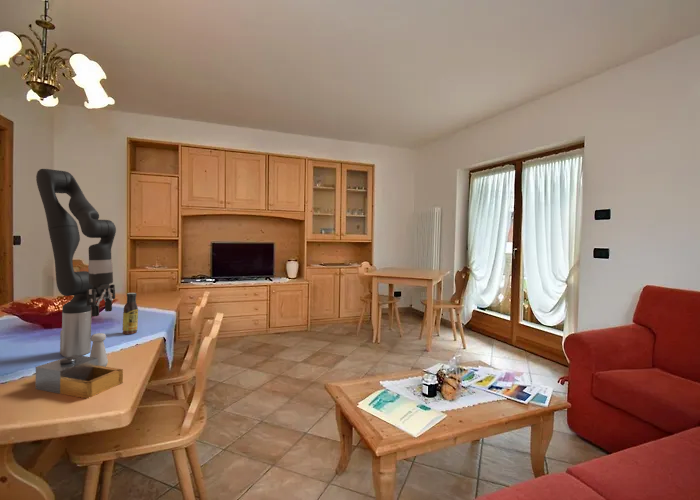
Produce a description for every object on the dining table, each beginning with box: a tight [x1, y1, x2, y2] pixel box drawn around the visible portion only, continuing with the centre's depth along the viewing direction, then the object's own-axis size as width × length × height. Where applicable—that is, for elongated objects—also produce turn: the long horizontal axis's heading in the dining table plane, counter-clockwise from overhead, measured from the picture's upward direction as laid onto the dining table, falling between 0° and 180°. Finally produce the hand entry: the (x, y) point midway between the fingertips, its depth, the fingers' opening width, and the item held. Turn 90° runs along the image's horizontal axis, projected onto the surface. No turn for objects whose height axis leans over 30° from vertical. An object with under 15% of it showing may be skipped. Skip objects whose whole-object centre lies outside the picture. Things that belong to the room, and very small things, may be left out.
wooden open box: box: [34, 355, 124, 399], centre depth 111 cm, size 24×12×8 cm, turn 76°
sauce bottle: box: [122, 292, 139, 335], centre depth 169 cm, size 6×6×20 cm
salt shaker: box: [89, 332, 109, 367], centre depth 123 cm, size 6×6×13 cm
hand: (102, 313), depth 131 cm, fingers open, 8 cm apart
